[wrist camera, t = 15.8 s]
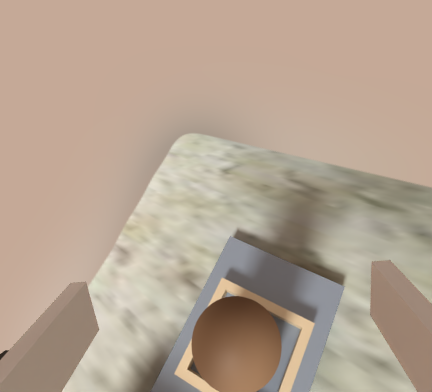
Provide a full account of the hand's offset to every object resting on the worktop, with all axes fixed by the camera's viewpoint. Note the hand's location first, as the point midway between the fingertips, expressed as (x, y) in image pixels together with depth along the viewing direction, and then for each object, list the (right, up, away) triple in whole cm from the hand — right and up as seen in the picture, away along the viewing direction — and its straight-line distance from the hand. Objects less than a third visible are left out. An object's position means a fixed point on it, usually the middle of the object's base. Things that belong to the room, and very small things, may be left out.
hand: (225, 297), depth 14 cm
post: (+2, -9, +13) cm, 16 cm away
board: (+2, -10, +15) cm, 18 cm away
